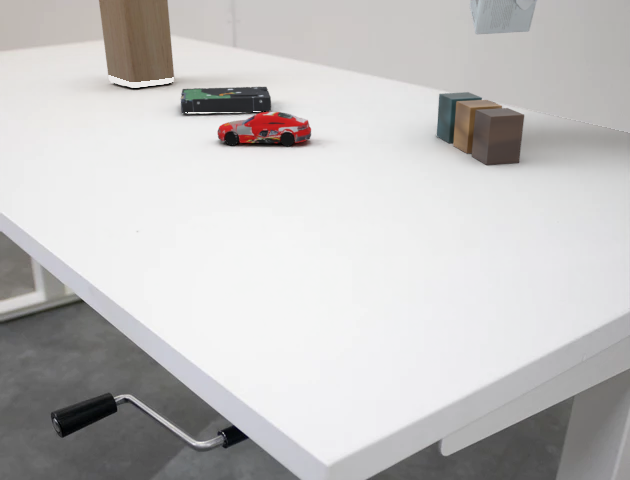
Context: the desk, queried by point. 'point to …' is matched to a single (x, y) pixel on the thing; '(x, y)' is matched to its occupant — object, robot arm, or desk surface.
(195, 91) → the disk drive
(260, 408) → the desk surface
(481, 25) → the white cardboard box
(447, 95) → the block row
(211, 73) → the desk surface
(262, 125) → the race car
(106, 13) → the block
